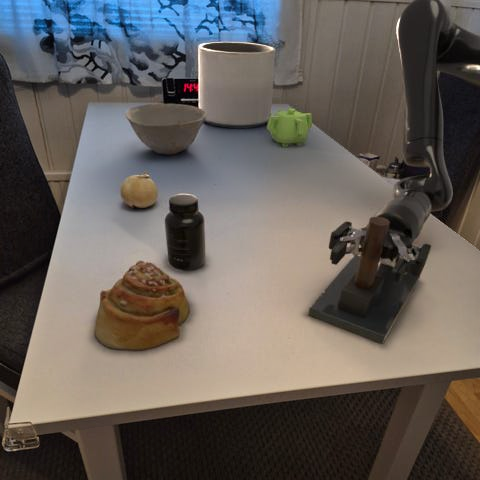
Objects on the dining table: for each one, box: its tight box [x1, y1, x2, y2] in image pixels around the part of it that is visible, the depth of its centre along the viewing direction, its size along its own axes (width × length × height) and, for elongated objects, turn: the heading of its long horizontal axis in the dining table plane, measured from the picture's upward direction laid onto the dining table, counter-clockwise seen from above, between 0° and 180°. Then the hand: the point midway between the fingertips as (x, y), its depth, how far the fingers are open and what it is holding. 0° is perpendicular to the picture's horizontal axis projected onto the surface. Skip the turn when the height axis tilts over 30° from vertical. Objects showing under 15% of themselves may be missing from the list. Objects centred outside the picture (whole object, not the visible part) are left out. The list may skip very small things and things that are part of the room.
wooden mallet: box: [338, 216, 390, 318], centre depth 66 cm, size 7×4×14 cm, turn 148°
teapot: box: [266, 108, 313, 148], centre depth 136 cm, size 12×12×10 cm
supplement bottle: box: [164, 193, 207, 271], centre depth 77 cm, size 7×7×12 cm
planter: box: [197, 41, 276, 129], centre depth 150 cm, size 25×25×22 cm
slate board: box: [307, 255, 421, 345], centre depth 74 cm, size 20×12×2 cm, turn 148°
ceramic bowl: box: [124, 103, 207, 156], centre depth 126 cm, size 22×23×10 cm
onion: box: [119, 170, 159, 209], centre depth 97 cm, size 8×8×7 cm
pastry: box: [94, 260, 191, 351], centre depth 65 cm, size 13×15×8 cm
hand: (362, 268), depth 63 cm, fingers open, 8 cm apart
